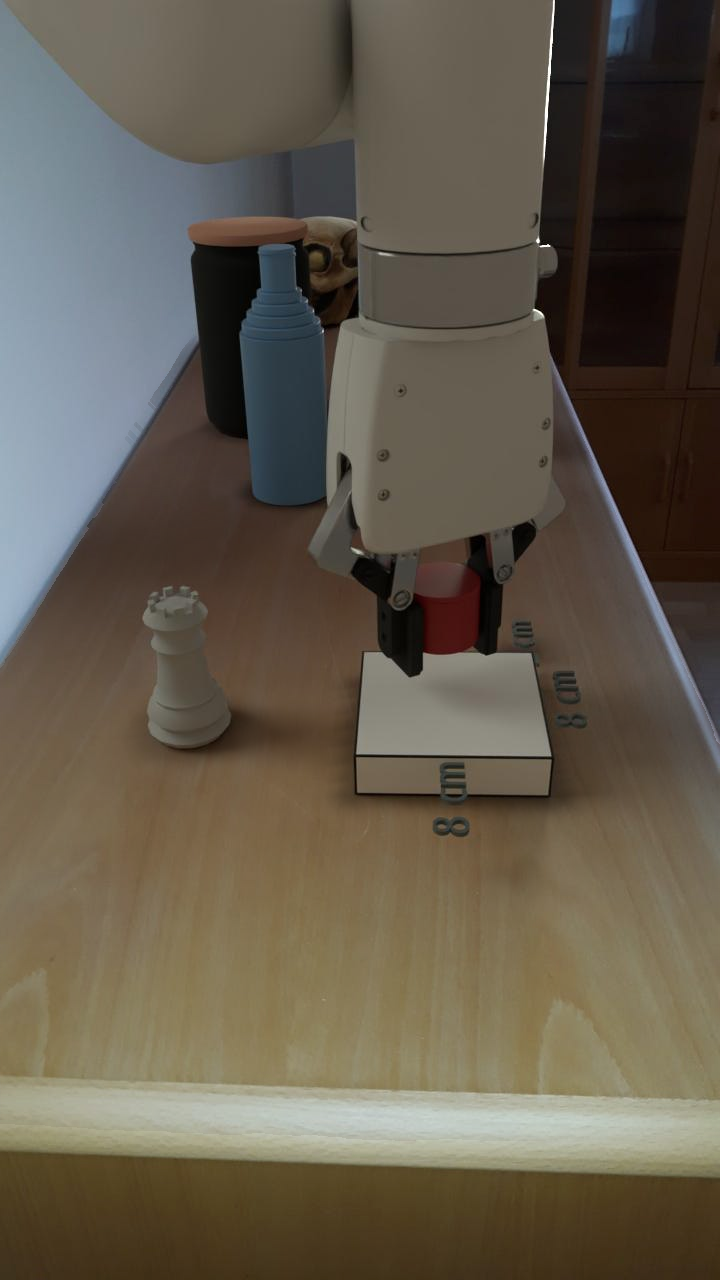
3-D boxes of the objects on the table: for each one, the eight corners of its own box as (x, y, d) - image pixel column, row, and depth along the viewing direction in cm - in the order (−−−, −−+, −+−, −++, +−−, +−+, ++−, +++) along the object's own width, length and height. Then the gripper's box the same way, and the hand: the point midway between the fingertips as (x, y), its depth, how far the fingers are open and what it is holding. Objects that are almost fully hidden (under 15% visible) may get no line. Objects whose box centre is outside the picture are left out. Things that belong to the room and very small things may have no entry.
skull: (258, 329, 127) (256, 217, 122) (275, 313, 143) (273, 213, 137) (379, 333, 127) (382, 220, 121) (382, 316, 142) (385, 216, 137)
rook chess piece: (131, 735, 53) (108, 605, 49) (188, 695, 56) (170, 569, 52) (193, 762, 51) (175, 628, 46) (248, 719, 54) (236, 590, 50)
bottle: (245, 504, 79) (223, 254, 69) (261, 474, 85) (243, 239, 75) (323, 506, 78) (312, 254, 69) (335, 476, 84) (326, 239, 74)
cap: (422, 662, 48) (422, 605, 47) (389, 627, 51) (388, 571, 50) (492, 644, 50) (495, 587, 48) (455, 610, 53) (457, 556, 51)
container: (366, 637, 61) (365, 599, 59) (552, 638, 60) (556, 600, 59) (348, 873, 44) (346, 828, 42) (609, 877, 43) (616, 832, 42)
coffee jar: (274, 398, 103) (262, 212, 94) (338, 422, 96) (332, 224, 86) (186, 421, 97) (164, 226, 88) (248, 449, 90) (230, 239, 81)
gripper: (557, 253, 48) (533, 588, 57) (231, 292, 42) (264, 658, 51) (661, 279, 42) (614, 648, 51) (298, 329, 36) (321, 735, 45)
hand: (439, 650), depth 51 cm, fingers closed on cap, 3 cm apart
